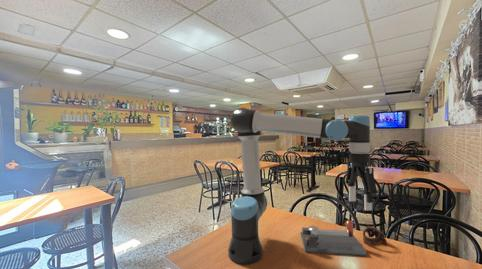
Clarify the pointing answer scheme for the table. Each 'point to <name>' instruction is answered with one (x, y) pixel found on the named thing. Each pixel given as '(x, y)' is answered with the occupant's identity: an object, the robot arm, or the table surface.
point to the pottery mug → (371, 233)
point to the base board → (333, 245)
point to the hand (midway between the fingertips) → (359, 205)
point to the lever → (329, 231)
